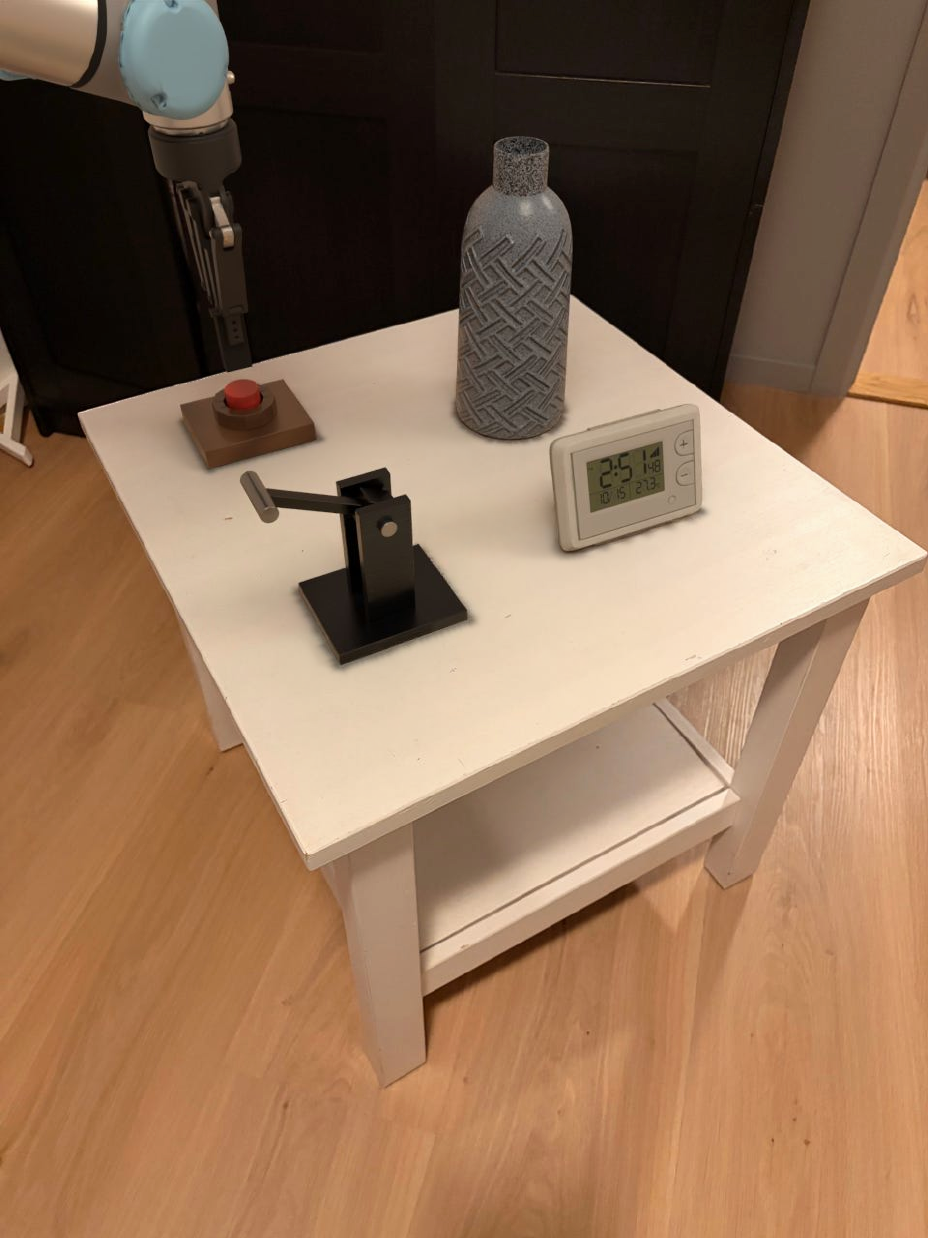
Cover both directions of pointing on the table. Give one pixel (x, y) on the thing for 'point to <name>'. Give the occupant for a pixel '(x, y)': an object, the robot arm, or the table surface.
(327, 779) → the table surface
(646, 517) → the digital clock
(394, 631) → the bracket
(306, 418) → the button block
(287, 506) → the lever
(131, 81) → the robot arm
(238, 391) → the button
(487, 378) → the vase
